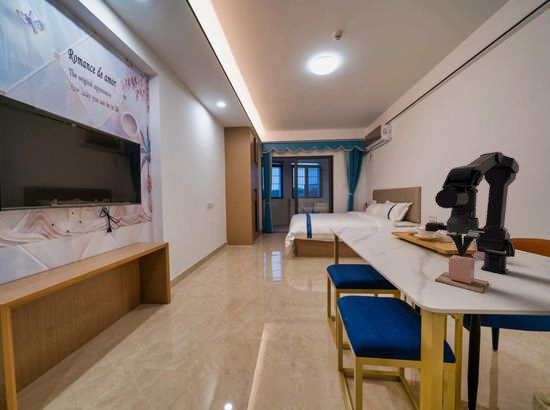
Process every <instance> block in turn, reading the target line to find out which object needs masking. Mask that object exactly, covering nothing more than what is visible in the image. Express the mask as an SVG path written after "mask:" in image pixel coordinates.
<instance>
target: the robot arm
mask: <svg viewBox="0 0 550 410" xmlns="http://www.w3.org/2000/svg"><path fill="white" fill-rule="evenodd" d="M519 171H520V165H519V162H518V161H517V160H516V159H515V158H514V157H510V156H507V155H505V154H503V152H501V151H500V152H499V151H494V152H493V151H492V152H486V153H482V154H480V155H479V157H477V158H476V159H474V160H472V161H471V162H470V163H468V164H467V165H461V166H456V167H453V168H451V169H449V172H448V173H447V176H446V178H445V180H444V182H443V185H442V186H441V190H439V191H437V193H436V195H435V196H434V201H435V203H436V205H437V206H438V207H439V208H443V209H451V210H450V216H449V218H448V219H447V221H446V224H445V222H442V221H441V222H440V221H429V222H427V223H426V224H425V225H424V226H425V227H424V230H425V232H432V233H437V232H438V231H446V233H445V236H446V237H450V238H451V240H452V241H453V242H454V245H455V247H456V250H457V252H458V254H459V255H458V256H460V257H465V255H466V253H467V251H468V249H469V247H470V246H471V244H473V240H474V239H475V240H476V245H477V251H478V252H484V261H483V265H482V266H481V267H480V270H483V271H487V272H493V273H498V274H503V275H508V272H509V268H507V259H508V258H510V257H511V258H515V257H516V249H515V246H514V243H513V242H512V240H511V235H510V233H509V231H508V229H507V228H506V227H505V222H506V213H507V201H508V191H509V187H510V185H511V184H512V183H513V182H514V181H515V180H516V178H517V174H518V173H519ZM483 180H485V181H486V183H487V185H489V189H488V197H487V208H486V216H485V217H486V218H485V220H486V221H485V225H484V226H483V227H479V226H480V221H479V217H477V193H479V190H478V188H477V187H479V185H480V184H481V182H482V181H483ZM463 235H464V236H463Z"/></svg>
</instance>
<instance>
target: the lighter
mask: <svg viewBox="0 0 550 410" xmlns="http://www.w3.org/2000/svg"><path fill="white" fill-rule="evenodd" d="M473 249H475V250H476V253H474V254H472V253H471V257H472V256H473V257H472V258H473V259H477V260H480V261H483V262H484V252H478V251H477V245H476V239H474V240H473V241H472V250H473Z"/></svg>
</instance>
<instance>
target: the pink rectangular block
mask: <svg viewBox="0 0 550 410" xmlns="http://www.w3.org/2000/svg"><path fill="white" fill-rule="evenodd" d="M475 262H476V258H474V257H472V258H471V257H467V256H466V257H465V256H464V257H460V255H455V254H453V255H452V256H450V257H448V273H449V277H448V278H449V279H453V280H457V281H461V282H465V283H469V284H470V283H471V282H472V281H473V280H474V278H475V264H476V263H475Z"/></svg>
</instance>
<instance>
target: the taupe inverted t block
mask: <svg viewBox="0 0 550 410" xmlns="http://www.w3.org/2000/svg"><path fill="white" fill-rule="evenodd" d="M448 277H449V271H448V272H447V271H444V272H443V273H441V274H440V275H439V276H438V277H435V278H434V282H437V283H442V284H445V285H449V286H451V287H452V286H453V287H456V288H461V289H464V290H468V291H473V292H476V293H480V294H482V293H483V292H484V291H485V289H486V288H487V286H488V285H489V281H488V280H483V279H479V278H475V277H474V280H473V281H472V282H471V283H470V284H469V283H465V282H461V281H457V280H453V279H449V278H448Z"/></svg>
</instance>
